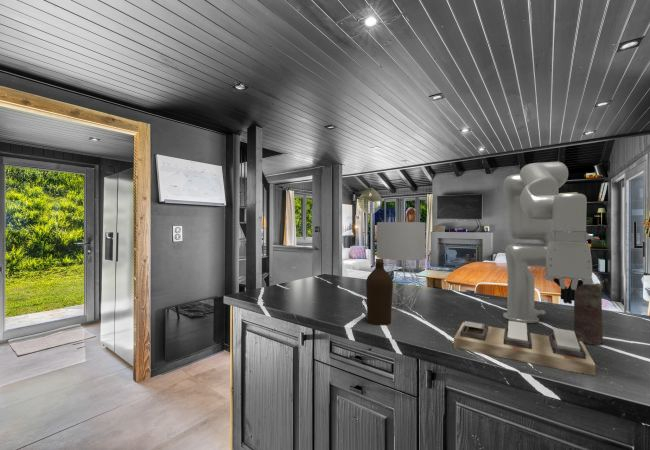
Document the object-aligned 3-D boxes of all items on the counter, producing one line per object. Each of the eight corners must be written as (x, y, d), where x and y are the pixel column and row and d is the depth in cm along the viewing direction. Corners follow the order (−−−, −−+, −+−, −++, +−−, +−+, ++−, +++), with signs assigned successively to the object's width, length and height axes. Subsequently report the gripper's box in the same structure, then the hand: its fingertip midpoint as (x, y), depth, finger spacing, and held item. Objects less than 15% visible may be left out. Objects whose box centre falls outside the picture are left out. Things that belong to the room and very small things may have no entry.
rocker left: (484, 328, 106) (484, 324, 106) (481, 328, 97) (482, 323, 97) (468, 326, 108) (469, 321, 109) (464, 325, 99) (464, 321, 100)
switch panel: (582, 351, 95) (582, 336, 95) (595, 376, 79) (595, 358, 79) (462, 330, 113) (463, 318, 113) (453, 347, 97) (454, 333, 97)
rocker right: (573, 335, 93) (574, 331, 93) (580, 353, 84) (580, 348, 84) (553, 332, 96) (553, 328, 96) (557, 349, 87) (557, 344, 86)
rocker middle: (526, 327, 99) (526, 323, 99) (527, 345, 90) (527, 340, 90) (508, 324, 102) (508, 320, 102) (507, 341, 93) (507, 337, 93)
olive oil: (373, 327, 116) (374, 260, 116) (361, 318, 126) (361, 257, 126) (397, 324, 120) (398, 260, 120) (383, 316, 130) (384, 257, 130)
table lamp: (392, 298, 162) (393, 222, 162) (433, 306, 146) (433, 222, 147) (366, 306, 146) (367, 222, 146) (409, 316, 130) (410, 222, 131)
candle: (567, 337, 107) (568, 279, 107) (587, 336, 108) (587, 279, 108) (588, 345, 100) (588, 284, 100) (609, 345, 100) (609, 283, 100)
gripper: (600, 238, 86) (599, 303, 86) (535, 236, 94) (534, 296, 94) (607, 239, 79) (605, 310, 80) (537, 237, 87) (536, 301, 88)
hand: (567, 302), depth 87 cm, fingers closed
